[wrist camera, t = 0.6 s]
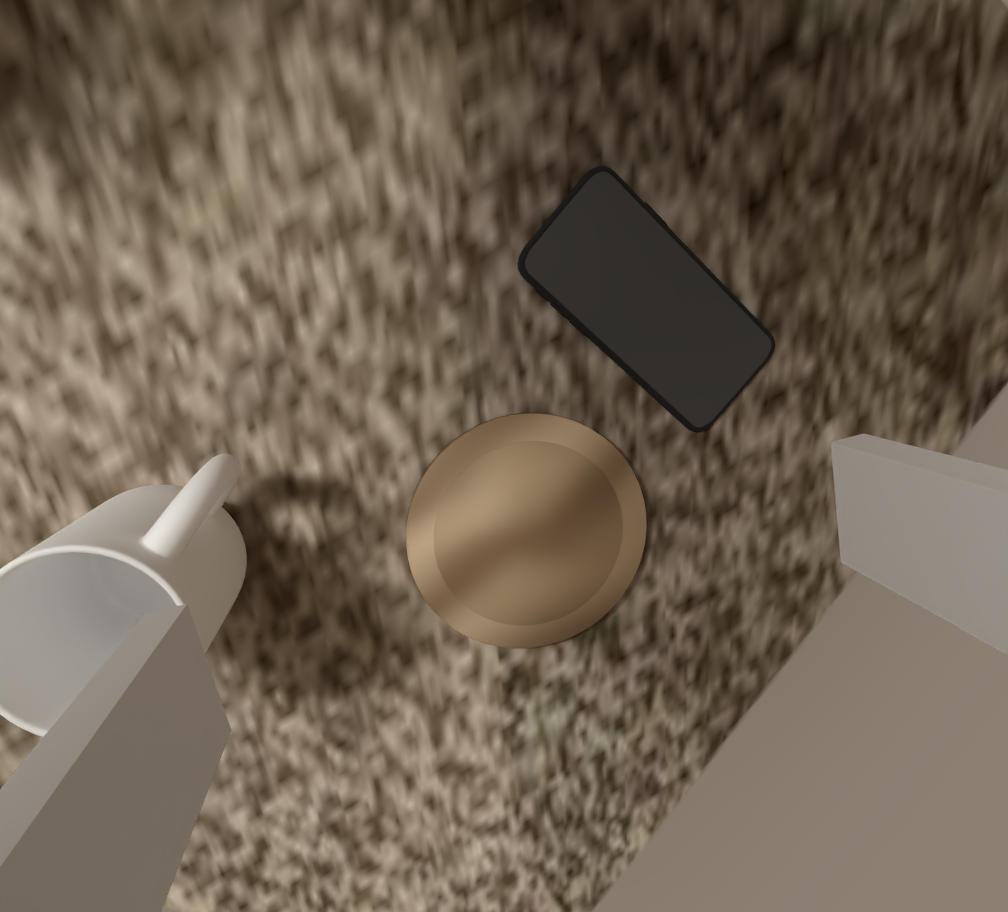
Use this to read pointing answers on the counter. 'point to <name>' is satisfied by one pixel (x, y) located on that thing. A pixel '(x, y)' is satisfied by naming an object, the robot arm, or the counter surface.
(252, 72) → the counter surface
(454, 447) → the coaster
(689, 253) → the smartphone
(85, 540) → the mug
